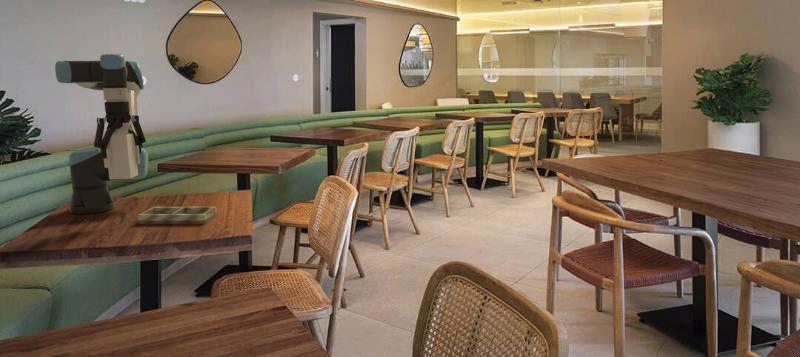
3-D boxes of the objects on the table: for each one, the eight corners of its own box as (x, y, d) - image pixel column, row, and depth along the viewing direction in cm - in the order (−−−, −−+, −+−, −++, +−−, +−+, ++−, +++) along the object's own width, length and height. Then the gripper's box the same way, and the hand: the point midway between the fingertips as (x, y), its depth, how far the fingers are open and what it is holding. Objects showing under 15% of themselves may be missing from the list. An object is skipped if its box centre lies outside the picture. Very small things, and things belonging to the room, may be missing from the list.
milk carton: (130, 179, 204) (125, 123, 200) (109, 179, 203) (103, 124, 200) (138, 175, 211) (133, 121, 207) (117, 176, 210) (112, 122, 207)
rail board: (138, 224, 203) (137, 214, 203) (153, 215, 215) (152, 206, 214) (205, 223, 203) (204, 214, 202) (216, 215, 214) (216, 206, 214)
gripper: (88, 102, 191) (95, 171, 195) (153, 99, 209) (158, 162, 213) (77, 102, 195) (84, 169, 199) (141, 98, 213) (147, 160, 217)
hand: (122, 165), depth 206 cm, fingers closed on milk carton, 10 cm apart
